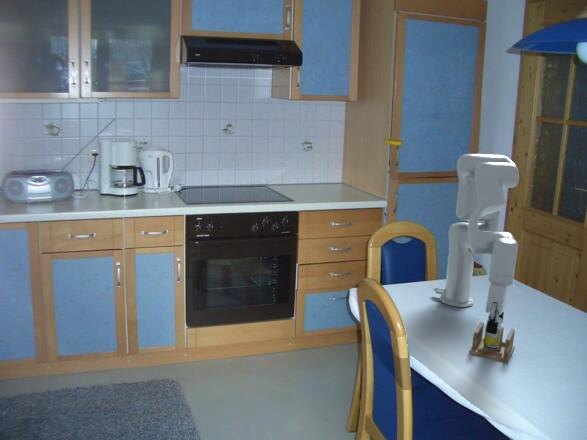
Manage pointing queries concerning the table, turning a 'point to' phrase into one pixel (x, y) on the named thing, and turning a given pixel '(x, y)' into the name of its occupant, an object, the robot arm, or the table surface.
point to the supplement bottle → (494, 337)
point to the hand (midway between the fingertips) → (494, 327)
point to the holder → (499, 355)
